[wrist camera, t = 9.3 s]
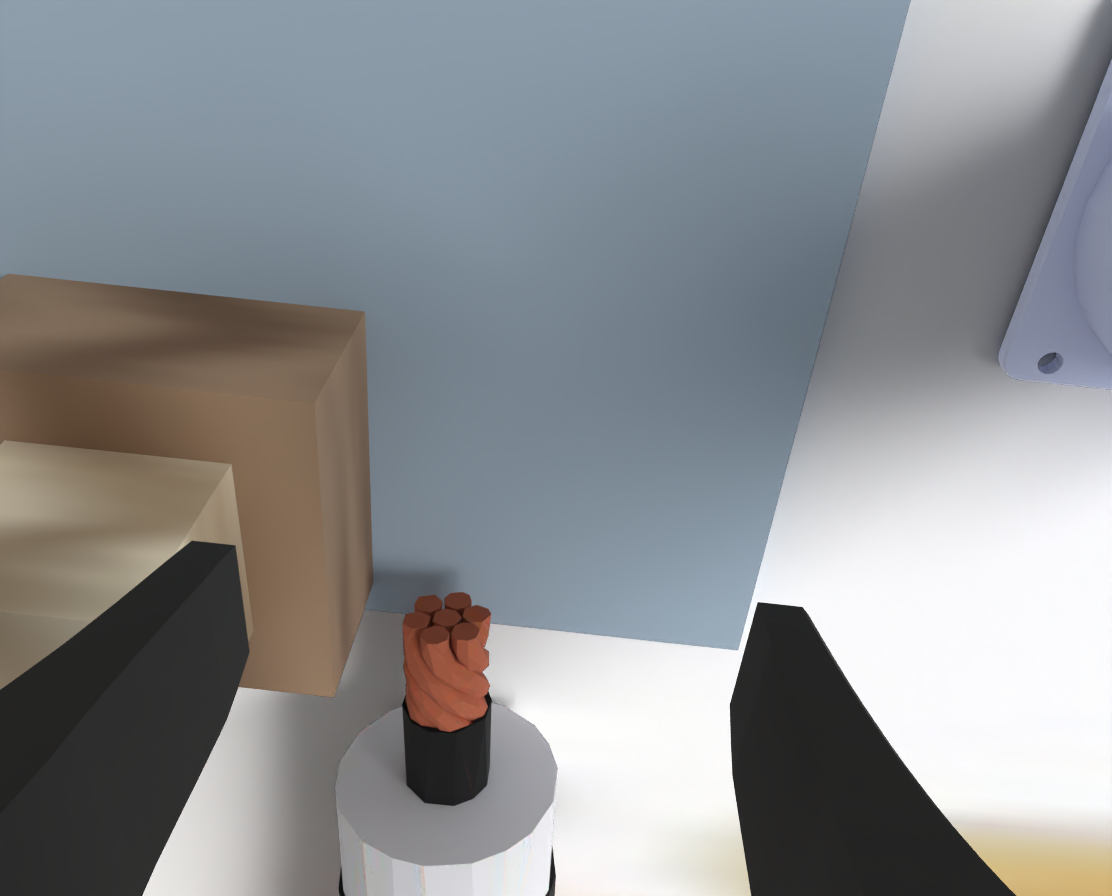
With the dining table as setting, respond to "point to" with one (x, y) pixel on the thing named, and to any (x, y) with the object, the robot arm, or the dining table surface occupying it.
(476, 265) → the mat
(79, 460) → the maple cube
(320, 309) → the walnut base
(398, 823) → the cable
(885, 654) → the dining table surface
